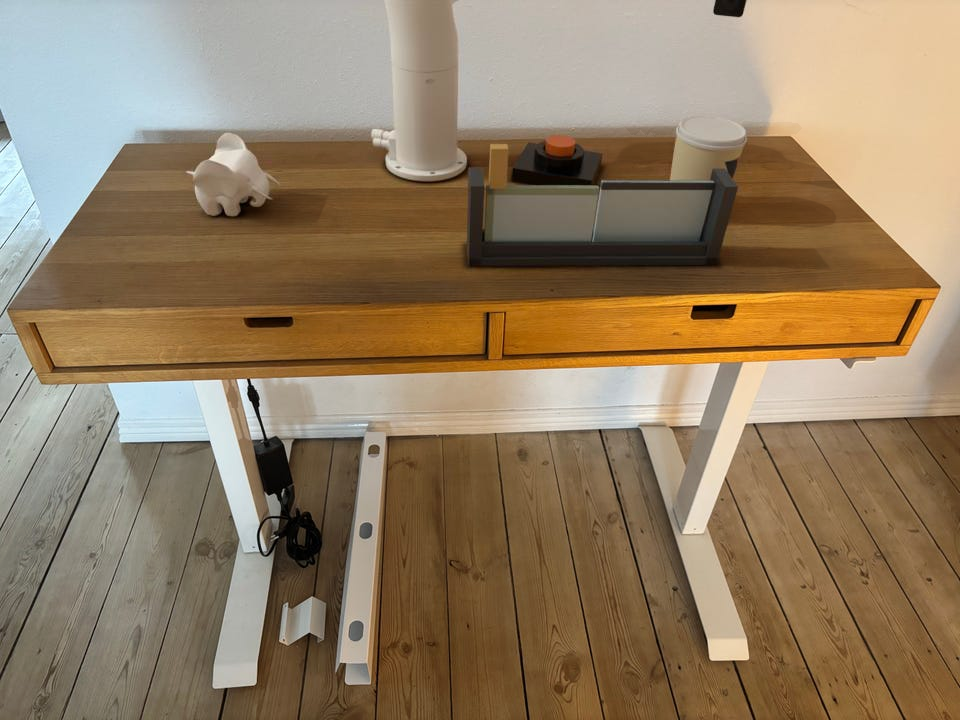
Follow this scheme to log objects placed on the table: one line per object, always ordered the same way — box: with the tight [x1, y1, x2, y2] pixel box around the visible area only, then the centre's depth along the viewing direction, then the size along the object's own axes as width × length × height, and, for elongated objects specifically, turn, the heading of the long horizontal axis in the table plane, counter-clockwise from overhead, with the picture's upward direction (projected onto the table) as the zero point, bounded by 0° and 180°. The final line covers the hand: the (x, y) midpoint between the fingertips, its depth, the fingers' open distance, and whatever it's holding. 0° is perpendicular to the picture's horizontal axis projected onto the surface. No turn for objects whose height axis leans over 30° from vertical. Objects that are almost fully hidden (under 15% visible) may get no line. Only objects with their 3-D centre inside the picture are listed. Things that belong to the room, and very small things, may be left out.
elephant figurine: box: [186, 132, 282, 217], centre depth 99 cm, size 10×12×9 cm
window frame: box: [466, 167, 739, 267], centre depth 92 cm, size 32×5×11 cm, turn 94°
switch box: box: [511, 139, 604, 185], centre depth 112 cm, size 12×10×4 cm
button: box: [545, 134, 576, 157], centre depth 110 cm, size 4×4×2 cm
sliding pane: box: [483, 143, 600, 242], centre depth 89 cm, size 14×1×14 cm, turn 94°
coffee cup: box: [669, 114, 748, 181], centre depth 102 cm, size 9×9×12 cm
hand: (726, 4), depth 85 cm, fingers open, 9 cm apart
